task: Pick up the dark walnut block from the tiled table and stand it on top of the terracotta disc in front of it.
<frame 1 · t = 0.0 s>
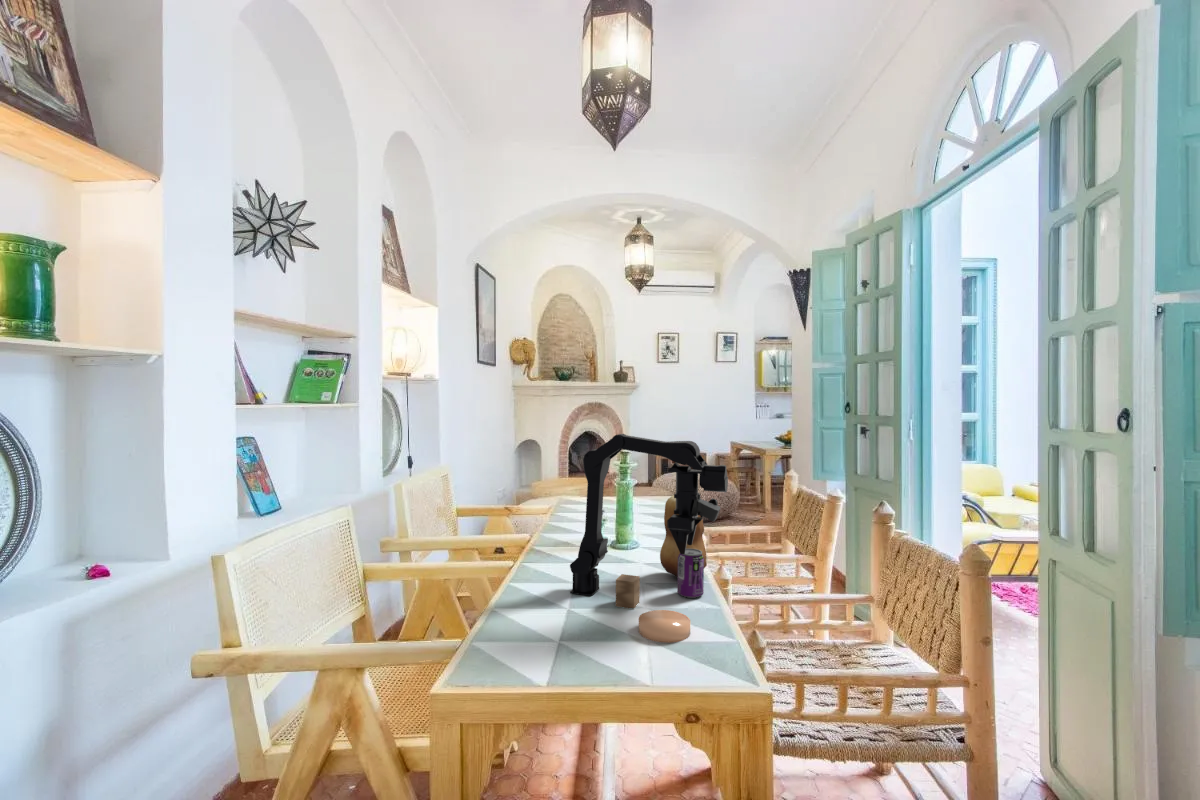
hand: (686, 549, 150), 15 cm above the table, tool pointing down, fingers open, 9 cm apart
beverage can: (690, 595, 158), on the table
terracotta disc: (664, 632, 134), on the table
walnut block: (627, 604, 151), on the table
butternut squash: (682, 578, 173), on the table
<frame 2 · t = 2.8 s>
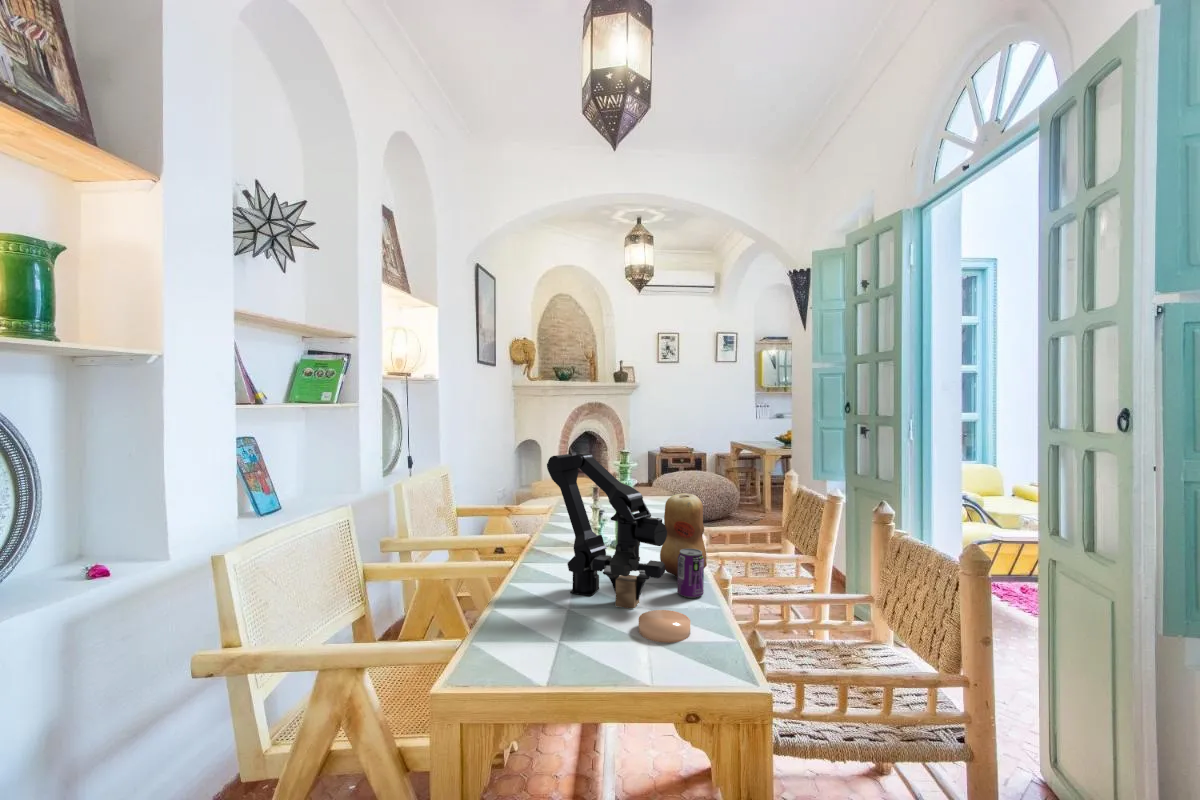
hand: (627, 598, 151), 2 cm above the table, tool pointing down, fingers closed on walnut block, 5 cm apart
walnut block: (627, 604, 151), on the table, touching gripper
everything else where it was.
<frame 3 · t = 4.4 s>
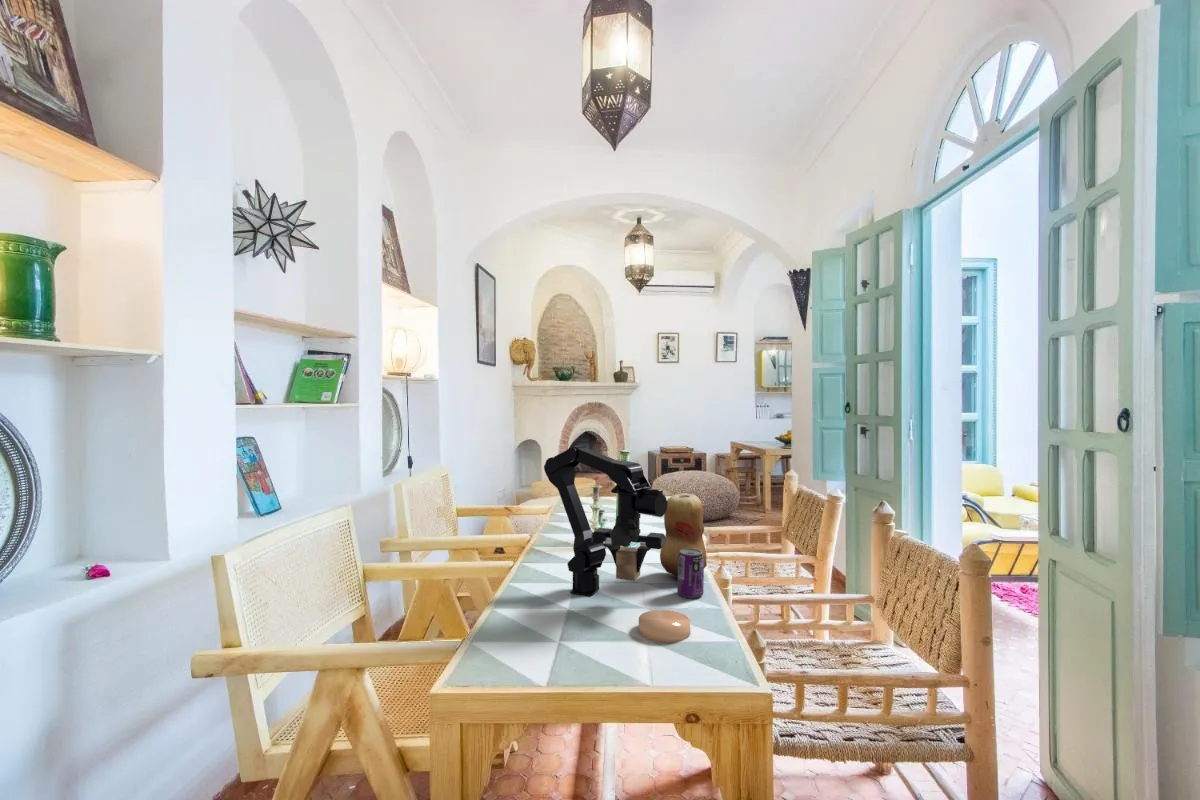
hand: (628, 570, 151), 9 cm above the table, tool pointing down, fingers closed on walnut block, 5 cm apart
walnut block: (628, 576, 151), point 7 cm above the table, touching gripper
everything else where it was.
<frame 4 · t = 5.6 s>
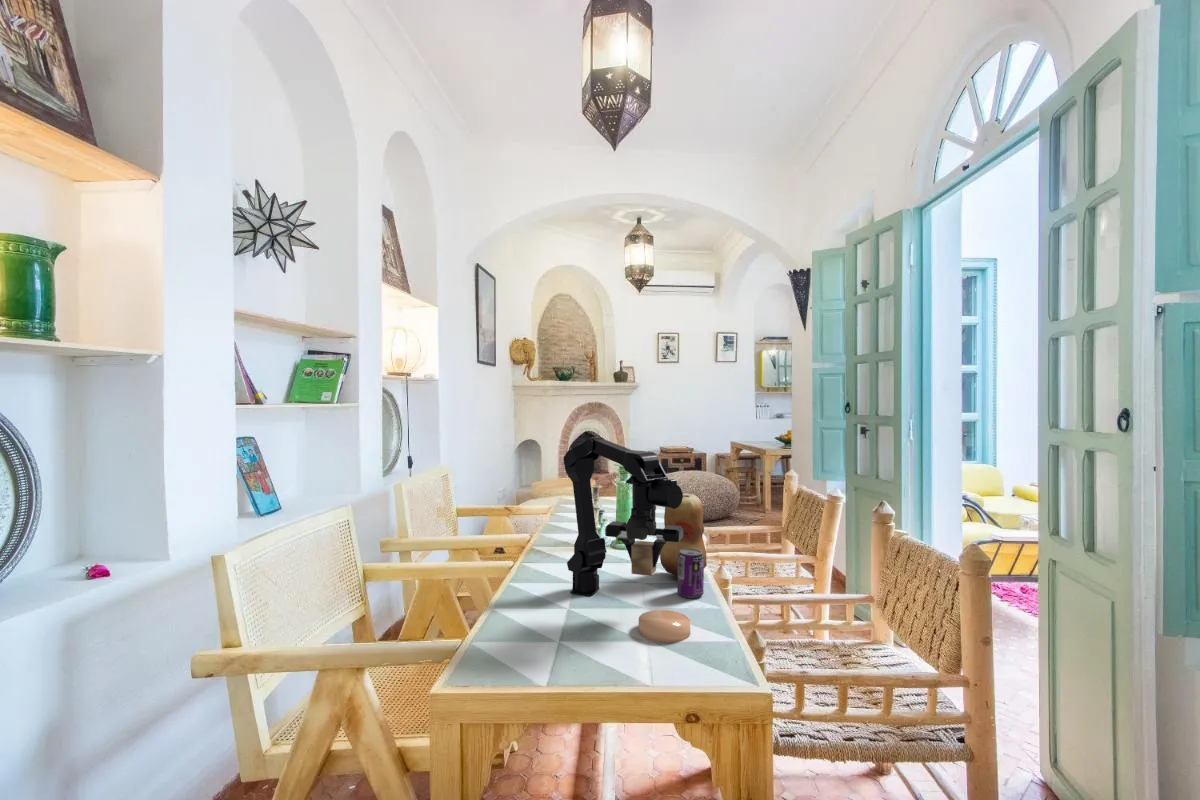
hand: (644, 565, 143), 12 cm above the table, tool pointing down, fingers closed on walnut block, 5 cm apart
walnut block: (644, 571, 143), point 11 cm above the table, touching gripper
everything else where it was.
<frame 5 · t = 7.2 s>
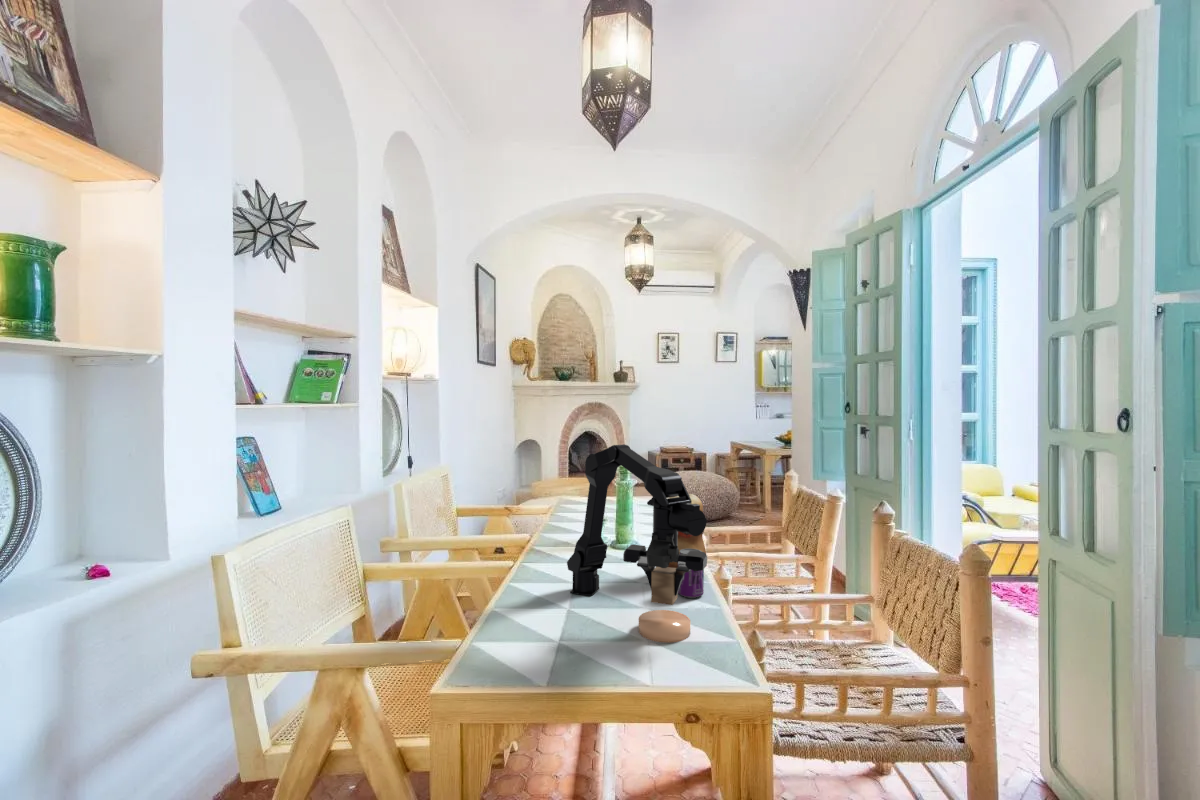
hand: (664, 593, 134), 9 cm above the table, tool pointing down, fingers closed on walnut block, 5 cm apart
walnut block: (664, 599, 134), point 7 cm above the table, touching gripper
everything else where it was.
when the fingers open (6 cm above the table, at t = 8.6 s): walnut block drops 2 cm, resting on terracotta disc.
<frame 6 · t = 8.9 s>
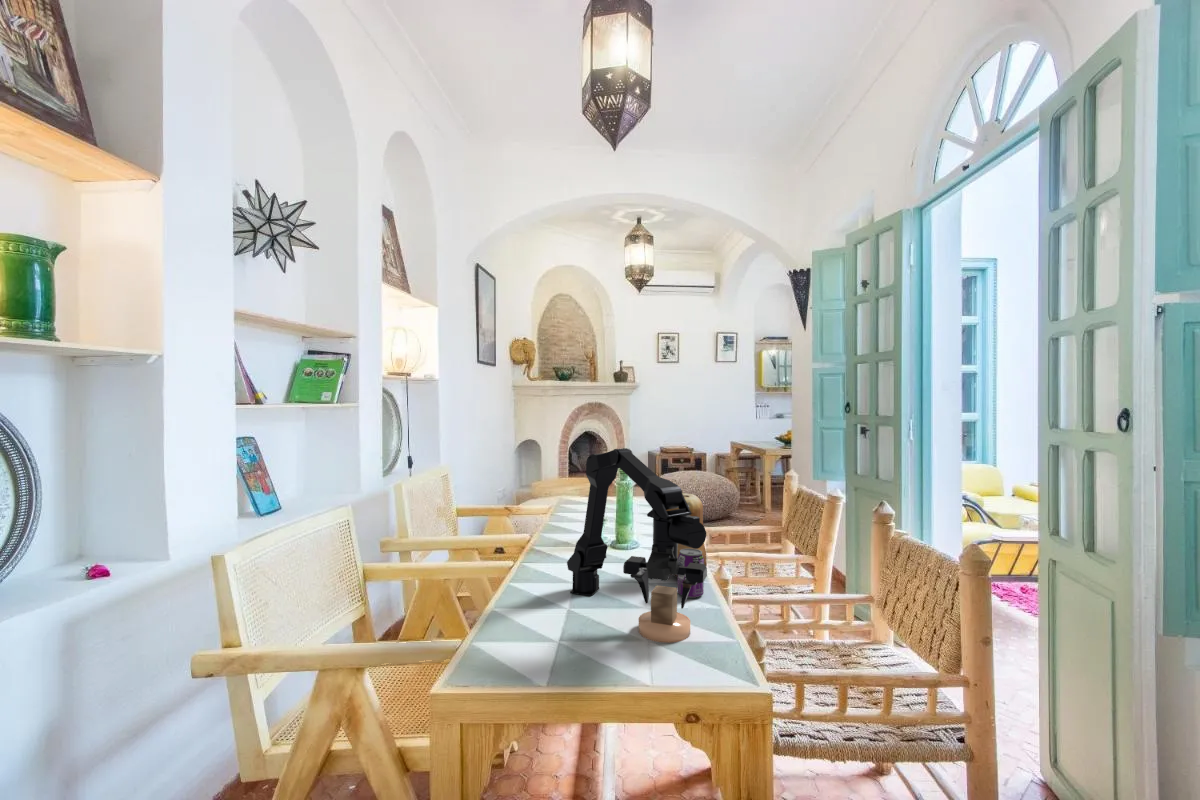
hand: (664, 605, 134), 6 cm above the table, tool pointing down, fingers open, 8 cm apart
terracotta disc: (664, 632, 134), on the table, touching walnut block
walnut block: (663, 619, 134), point 3 cm above the table, touching terracotta disc
everything else where it was.
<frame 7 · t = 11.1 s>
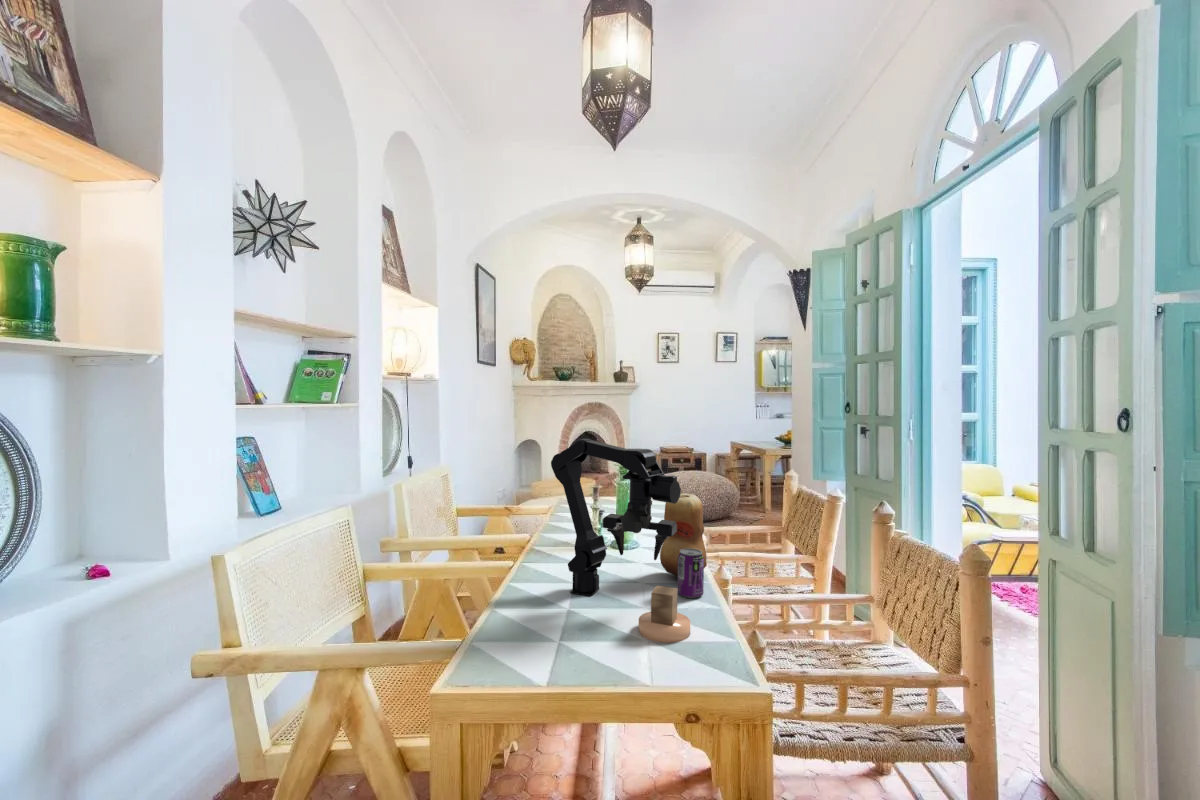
hand: (638, 557, 150), 13 cm above the table, tool pointing down, fingers open, 9 cm apart
nothing on the table moved.
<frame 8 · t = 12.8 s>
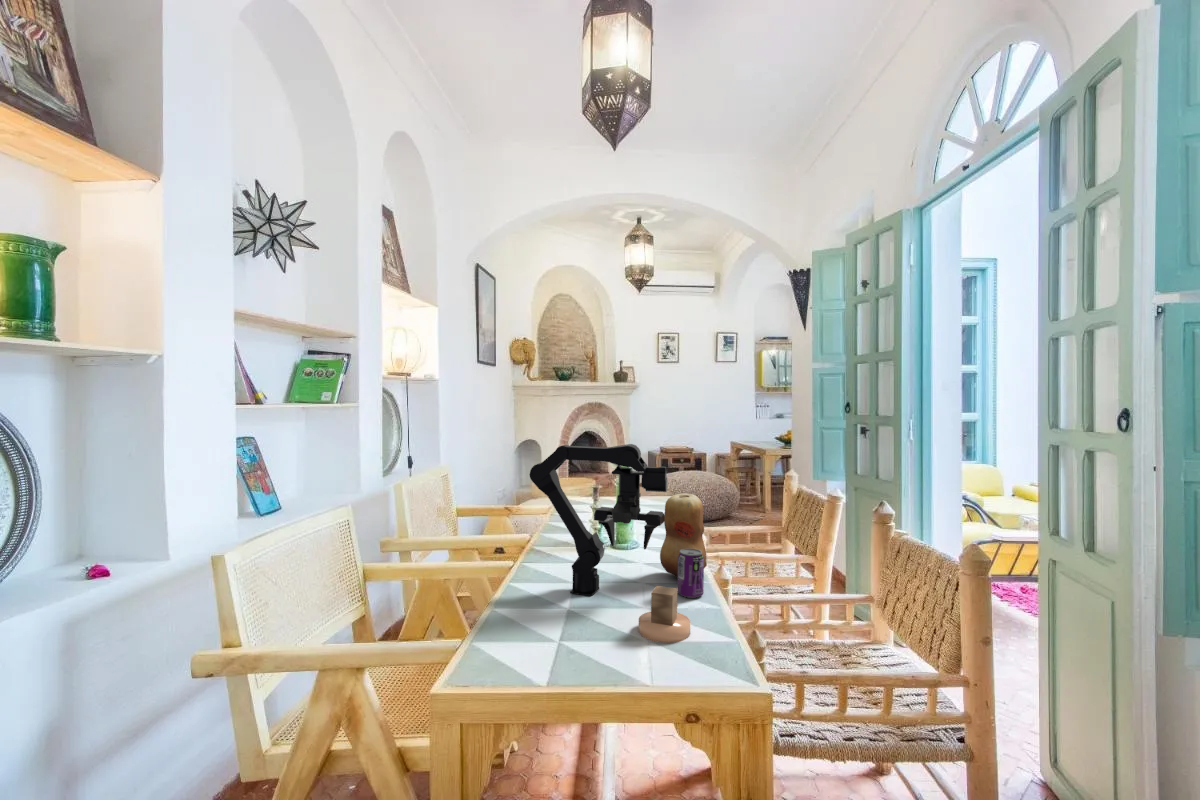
hand: (628, 547, 158), 13 cm above the table, tool pointing down, fingers open, 9 cm apart
nothing on the table moved.
at the end: walnut block 0.1 cm off-centre on the terracotta disc, point 3.0 cm above the terracotta disc's base; walnut block tilted 0°; the gripper is holding nothing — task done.
